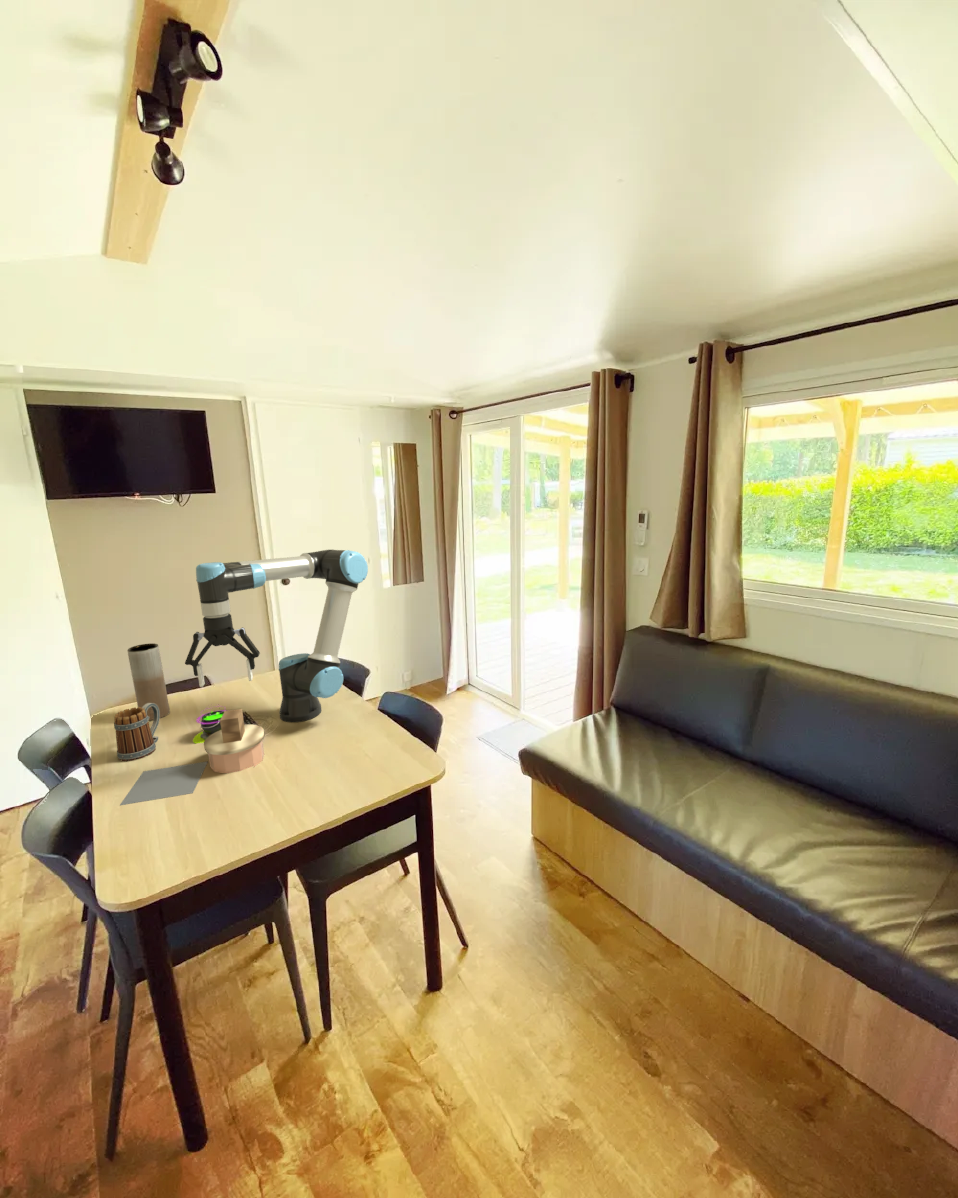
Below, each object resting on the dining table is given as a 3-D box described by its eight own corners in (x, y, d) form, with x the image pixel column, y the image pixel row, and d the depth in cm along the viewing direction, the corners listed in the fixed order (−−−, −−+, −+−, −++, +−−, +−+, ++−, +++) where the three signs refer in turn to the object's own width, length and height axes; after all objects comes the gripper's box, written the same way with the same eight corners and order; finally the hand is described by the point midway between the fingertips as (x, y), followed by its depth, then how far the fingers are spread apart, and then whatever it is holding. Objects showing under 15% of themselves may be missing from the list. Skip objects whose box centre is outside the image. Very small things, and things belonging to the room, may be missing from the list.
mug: (137, 764, 160) (129, 720, 156) (109, 762, 162) (101, 718, 159) (175, 740, 174) (168, 700, 171) (149, 738, 177) (142, 698, 173)
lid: (267, 725, 168) (264, 700, 166) (260, 749, 152) (256, 721, 150) (211, 733, 164) (207, 707, 162) (198, 759, 148) (193, 730, 146)
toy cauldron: (186, 737, 177) (181, 707, 175) (230, 722, 188) (226, 694, 186) (202, 750, 167) (197, 719, 165) (247, 734, 178) (243, 704, 176)
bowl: (266, 746, 168) (264, 727, 167) (260, 769, 154) (257, 748, 153) (217, 753, 164) (214, 734, 163) (206, 778, 150) (202, 756, 149)
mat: (208, 763, 159) (208, 761, 159) (193, 795, 142) (192, 793, 142) (143, 773, 154) (143, 771, 154) (119, 807, 137) (119, 805, 137)
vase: (175, 713, 197) (163, 645, 191) (147, 723, 189) (134, 652, 183) (162, 708, 202) (150, 641, 197) (135, 717, 194) (122, 648, 189)
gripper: (263, 608, 156) (271, 673, 161) (173, 616, 150) (185, 683, 154) (260, 613, 149) (268, 681, 153) (165, 622, 143) (177, 692, 147)
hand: (226, 682), depth 154 cm, fingers open, 13 cm apart
